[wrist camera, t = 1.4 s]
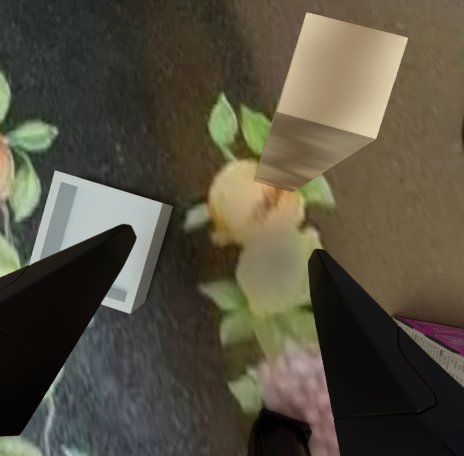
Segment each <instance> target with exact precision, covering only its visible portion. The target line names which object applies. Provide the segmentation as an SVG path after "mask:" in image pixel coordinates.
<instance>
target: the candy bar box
mask: <svg viewBox="0 0 464 456" xmlns="http://www.w3.org/2000/svg"><path fill="white" fill-rule="evenodd" d="M392 319H393V320H394V321H395V322H396V323H397V324H398V326H400V327H401V328H402V329H403V330H404V331H405V332H406V333H407V334H408V335H409V336H410V337H411V338H412V339H413V340H414V341H415V342H416V343H417V344H418V345H419V346H420V347H421V348H422V349H423V350H424V351H425V352H427V353H428V354H429V355H430V356H431V357H432V358H433V359H434V360H435V361H436V362H437V363H438V364H439V365H440V366H441V367H442V368H443V369H445V370H446V371H447V372H448V373H449V374H450V375H451V376H452V377H453V378H454V379H455V380H456V381H458V382H459V383H460V384H461V385H462V386H463V387H464V329H462V328H455V327H450V326H445V325H439V324H434V323H428V322H423V321H418V320H412V319H406V318H401V317H396V316H392Z"/></svg>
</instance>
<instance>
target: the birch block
mask: <svg viewBox="0 0 464 456" xmlns="http://www.w3.org/2000/svg"><path fill="white" fill-rule="evenodd" d="M407 40H408V38H407V37H403V36H399V35H395V34H391V33H387V32H383V31H379V30H375V29H371V28H367V27H363V26H359V25H355V24H351V23H347V22H343V21H339V20H335V19H331V18H327V17H323V16H319V15H315V14H311V13H306V17H305V20H304V23H303V26H302V29H301V32H300V35H299V39H298V42H297V45H296V48H295V51H294V54H293V58H292V61H291V64H290V67H289V70H288V73H287V76H286V80H285V83H284V86H283V89H282V92H281V95H280V99H279V102H278V105H277V108H276V111H275V114H274V117H273V121H272V124H271V127H270V130H269V133H268V136H267V140H266V143H265V146H264V149H263V153H262V156H261V159H260V162H259V166H258V169H257V172H256V176H255V179H254V181H255V182H259V183H262V184H266V185H269V186H272V187H276V188H279V189H283V190H286V191H290V192H293V191H295V190H297V189H298V188H300V187H301V186H303V185H304V184H306V183H308V182H309V181H311V180H312V179H314V178H315V177H317V176H319V175H320V174H322V173H323V172H325V171H326V170H328V169H330V168H331V167H333V166H334V165H336V164H337V163H339V162H341V161H342V160H344V159H345V158H347V157H348V156H350V155H352V154H353V153H355V152H356V151H358V150H359V149H361V148H363V147H364V146H366V145H367V144H369V143H370V142H372V141H374V140H375V139H376V137H377V134H378V131H379V128H380V125H381V122H382V119H383V115H384V112H385V109H386V106H387V103H388V100H389V97H390V93H391V90H392V87H393V84H394V81H395V78H396V75H397V71H398V68H399V65H400V62H401V59H402V56H403V53H404V49H405V46H406V43H407Z"/></svg>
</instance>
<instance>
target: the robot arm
mask: <svg viewBox="0 0 464 456" xmlns="http://www.w3.org/2000/svg"><path fill="white" fill-rule="evenodd" d="M136 240H137V236H136V234H135V232H134V230H133V228H132V226H131V225H129V224H120V225H118V226H116V227H113V228H111V229H109V230H107V231H104V232H102V233H100V234H98V235H95V236H93V237H91V238H89V239H86V240H84V241H82V242H80V243H77V244H75V245H73V246H71V247H68V248H66V249H64V250H62V251H59V252H57V253H55V254H52V255H50V256H48V257H46V258H43V259H41V260H39V261H37V262H34V263H32V264H31V265H28V266H25V267H23V268H21V269H19V270H16V271H14V272H12V273H9V274H7V275H5V276H2V277H0V437H2V436H19V435H20V434H21V433H22V431H23V430H24V428H25V427H26V425H27V424H28V422H29V420H30V419H31V417H32V416H33V414H34V412H35V411H36V409H37V407H38V406H39V404H40V402H41V401H42V399H43V398H44V396H45V394H46V393H47V391H48V389H49V388H50V386H51V385H52V383H53V381H54V380H55V378H56V376H57V375H58V373H59V372H60V370H61V368H62V367H63V365H64V363H65V362H66V359H67V358H68V357H69V355H70V353H71V352H72V350H73V348H74V347H75V345H76V344H77V342H78V340H79V339H80V337H81V335H82V334H83V332H84V331H85V329H86V327H87V326H88V324H89V322H90V321H91V319H92V318H93V316H94V314H95V313H96V311H97V309H98V308H99V306H100V305H101V303H102V301H103V300H104V298H105V296H106V295H107V293H108V292H109V290H110V288H111V287H112V285H113V283H114V282H115V280H116V278H117V277H118V275H119V274H120V272H121V270H122V269H123V267H124V265H125V263H126V261H127V259H128V257H129V255H130V253H131V251H132V249H133V246H134V244H135V242H136ZM308 273H309V287H310V297H311V303H312V308H313V313H314V319H315V324H316V329H317V335H318V340H319V345H320V350H321V356H322V361H323V366H324V371H325V377H326V382H327V387H328V392H329V398H330V403H331V408H332V414H333V418H334V425H335V430H336V435H337V441H338V446H339V451H340V456H464V387H463V386H462V385H461V384H460V383H459V382H458V381H456V380H455V379H454V378H453V377H452V376H451V375H450V374H449V373H448V372H447V371H446V370H445V369H443V368H442V367H441V366H440V365H439V364H438V363H437V362H436V361H435V360H434V359H433V358H432V357H431V356H430V355H429V354H428V353H427V352H425V351H424V350H423V349H422V348H421V347H420V346H419V345H418V344H417V343H416V342H415V341H414V340H413V339H412V338H411V337H410V336H409V335H408V334H407V333H406V332H405V331H404V330H403V329H402V328H401V327H400V326H398V324H397V323H396V322H395V321H394V320H393V319H392V318H391V317H390V316H389V314H388V313H387V312H386V311H385V310H384V309H383V308H382V307H381V306H380V305H379V304H378V303H377V302H376V301H375V300H374V299H373V298H372V297H371V296H370V295H369V294H368V293H367V292H366V291H365V290H364V289H363V288H362V287H361V286H360V285H359V284H358V283H357V282H356V281H355V280H354V279H353V278H352V277H351V276H350V275H349V274H348V273H347V272H346V271H345V270H344V269H343V268H342V267H341V266H340V265H339V264H338V263H337V262H336V261H335V260H334V259H333V258H332V257H331V256H330V255H329V254H328V253H327V252H326V251H325V250H323V249H314V250H313V252H312V254H311V256H310V258H309V261H308ZM264 415H265V416H264ZM311 433H312V431H311V428H310V426H309V425H308V424H305V423H302V422H299V421H296V420H293V419H290V418H288V417H285V416H282V415H279V414H276V413H273V412H270V411H267V410H261V412H260V414H259V418H258V421H257V424H256V427H254V428H253V431H252V434H251V437H250V441H249V444H248V453H247V456H312V455H311V452H310V449H309V446H308V443H309V440H310V437H311Z"/></svg>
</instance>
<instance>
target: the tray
mask: <svg viewBox="0 0 464 456" xmlns="http://www.w3.org/2000/svg"><path fill="white" fill-rule="evenodd" d="M172 209H173V206H170V205H167V204H164V203H160V202H157V201H154V200H151V199H147V198H144V197H141V196H137V195H134V194H131V193H127V192H124V191H121V190H117V189H114V188H111V187H108V186H104V185H101V184H98V183H94V182H91V181H88V180H84V179H81V178H78V177H74V176H71V175H68V174H65V173H61V172H58V171H55V174H54V177H53V181H52V184H51V188H50V192H49V195H48V199H47V203H46V206H45V210H44V213H43V217H42V221H41V224H40V228H39V232H38V235H37V239H36V242H35V246H34V250H33V253H32V257H31V261H30V264H29V265H31V264H32V263H34V262H37V261H39V260H41V259H43V258H46V257H48V256H50V255H52V254H55V253H57V252H59V251H62V250H64V249H66V248H68V247H71V246H73V245H75V244H77V243H80V242H82V241H84V240H86V239H89V238H91V237H93V236H95V235H98V234H100V233H102V232H104V231H107V230H109V229H111V228H113V227H116V226H118V225H120V224H129V225H131V226H132V228H133V230H134V232H135V234H136V236H137V240H136V242H135V244H134V246H133V249H132V251H131V253H130V255H129V257H128V259H127V261H126V263H125V265H124V267H123V269H122V270H121V272H120V274H119V275H118V277H117V278H116V280H115V282H114V283H113V285H112V287H111V288H110V290H109V292H108V293H107V295H106V296H105V298H104V300H103V301H102V303H101V304H102V305H105V306H108V307H111V308H114V309H117V310H120V311H124V312H127V313H130V314H131V313H132V312H133V311H134V310H136V309H137V308H138V307H139V306H141V305H142V304H143V303H144V302H145V301H146V297H147V294H148V290H149V287H150V283H151V280H152V277H153V273H154V270H155V266H156V263H157V260H158V256H159V253H160V249H161V246H162V243H163V239H164V236H165V232H166V229H167V226H168V222H169V219H170V215H171V212H172Z"/></svg>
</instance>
